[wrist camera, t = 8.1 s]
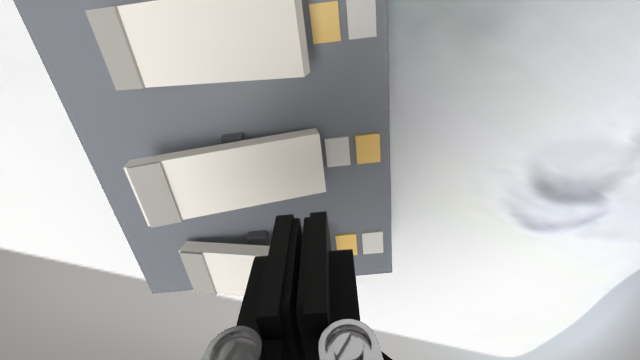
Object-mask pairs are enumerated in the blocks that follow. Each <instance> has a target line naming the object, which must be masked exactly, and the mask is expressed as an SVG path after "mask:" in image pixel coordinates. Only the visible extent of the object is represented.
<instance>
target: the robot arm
mask: <svg viewBox="0 0 640 360" xmlns="http://www.w3.org/2000/svg"><path fill="white" fill-rule="evenodd" d="M201 360H392V359H391V358H389V357H388V356H387V355H385V354H384V353H383V352H381V350H380V346H379V343H378V340H377V338H376V336H375V334H374V332H373V330H372V329H371V328H370V327H369V326H368V325H366V324H364V323H363V322H361V321H360V315H359V305H358V296H357V286H356V277H355V267H354V258H353V249H346V250H333V251H332V249H331V241H330V233H329V225H328V217H327V212H326V211H324V212H312V213H310V217H304V225H303V232H302V226H301V221H300V218H294V215H293V214H288V215H277V216H276V219H275V224H274V229H273V233H272V238H271V243H270V247H269V252H268V256H256V257H255V258H254V260H253V264H252V268H251V271H250V275H249V279H248V283H247V287H246V291H245V294H244V298H243V302H242V306H241V310H240V314H239V318H238V322H237V326H235V327H232V328H229V329H226V330H224V331H223V332H221V333H220V334H218V335H217V336H216V337H215V338H214V339H213V340H212V341H211V342H210V344H209V345H208V347H207V349H206V351H205V353H204V355H203V357H202V359H201Z"/></svg>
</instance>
